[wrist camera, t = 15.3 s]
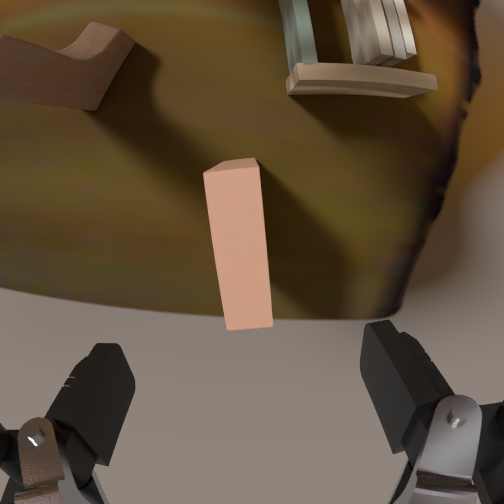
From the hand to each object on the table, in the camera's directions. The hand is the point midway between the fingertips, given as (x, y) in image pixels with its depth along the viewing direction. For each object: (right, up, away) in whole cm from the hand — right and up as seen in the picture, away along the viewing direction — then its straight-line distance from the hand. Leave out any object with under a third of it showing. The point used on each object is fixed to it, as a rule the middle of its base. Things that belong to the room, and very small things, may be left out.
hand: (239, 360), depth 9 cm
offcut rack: (+10, +28, +14) cm, 33 cm away
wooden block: (-16, +23, +16) cm, 32 cm away
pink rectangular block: (0, +8, +21) cm, 23 cm away
